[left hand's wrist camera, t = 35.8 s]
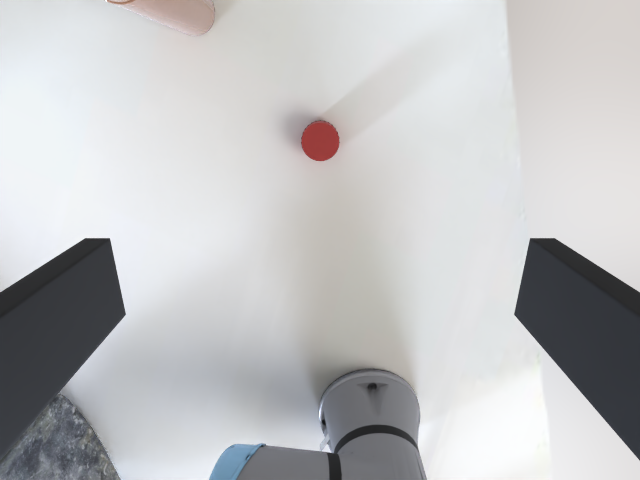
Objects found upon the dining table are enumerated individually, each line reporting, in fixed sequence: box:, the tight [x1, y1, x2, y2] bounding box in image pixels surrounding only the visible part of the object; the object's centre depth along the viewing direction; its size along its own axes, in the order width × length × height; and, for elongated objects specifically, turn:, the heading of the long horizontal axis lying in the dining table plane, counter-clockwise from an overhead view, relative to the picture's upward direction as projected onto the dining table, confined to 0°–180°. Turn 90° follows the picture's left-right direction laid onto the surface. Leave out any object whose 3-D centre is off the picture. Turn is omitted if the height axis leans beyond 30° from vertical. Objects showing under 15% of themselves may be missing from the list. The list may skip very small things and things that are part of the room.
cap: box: [301, 120, 339, 161], centre depth 45 cm, size 4×4×3 cm
